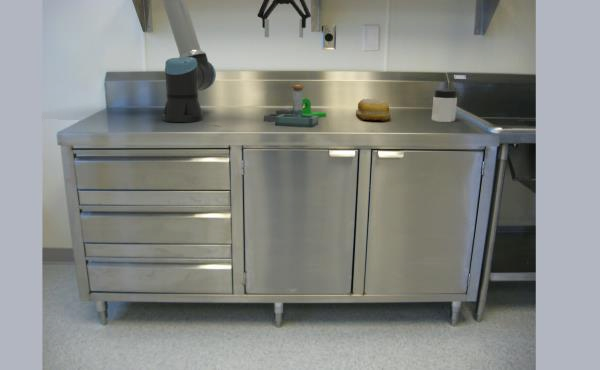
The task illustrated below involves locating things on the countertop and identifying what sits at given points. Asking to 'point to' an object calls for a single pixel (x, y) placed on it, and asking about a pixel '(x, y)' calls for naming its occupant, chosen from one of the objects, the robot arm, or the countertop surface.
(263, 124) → the countertop surface
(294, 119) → the tray
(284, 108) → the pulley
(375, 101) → the bread
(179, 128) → the countertop surface
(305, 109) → the mechanical part
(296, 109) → the pin
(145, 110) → the countertop surface
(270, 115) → the grey metal square frame
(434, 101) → the jar
